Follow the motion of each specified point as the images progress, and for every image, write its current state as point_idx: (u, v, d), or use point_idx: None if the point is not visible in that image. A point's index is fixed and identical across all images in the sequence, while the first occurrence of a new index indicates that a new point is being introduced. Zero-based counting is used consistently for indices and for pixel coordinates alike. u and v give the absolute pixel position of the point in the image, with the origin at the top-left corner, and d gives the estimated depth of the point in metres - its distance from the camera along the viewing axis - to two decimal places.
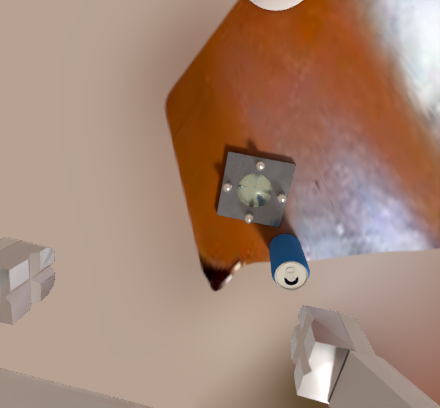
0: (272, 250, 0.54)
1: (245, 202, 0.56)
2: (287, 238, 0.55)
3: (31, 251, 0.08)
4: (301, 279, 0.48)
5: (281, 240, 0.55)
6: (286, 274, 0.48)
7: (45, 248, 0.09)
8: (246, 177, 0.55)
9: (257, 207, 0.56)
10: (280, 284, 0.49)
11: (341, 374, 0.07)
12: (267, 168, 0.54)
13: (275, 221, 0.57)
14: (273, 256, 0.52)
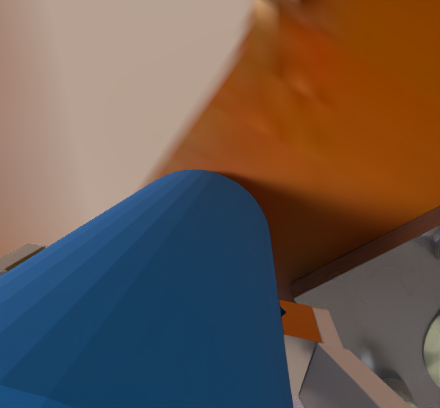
0: (274, 280, 0.08)
1: None
2: None
3: None
4: None
5: None
6: None
7: None
8: None
9: None
10: None
11: (310, 366, 0.07)
12: None
13: (326, 305, 0.12)
14: (285, 360, 0.05)
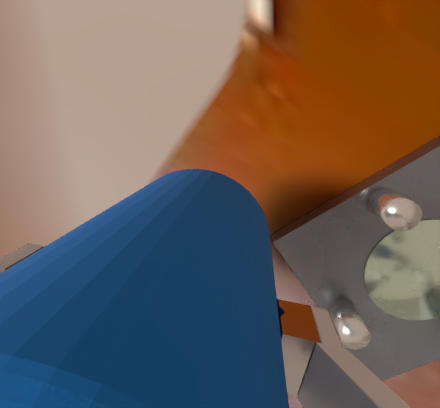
0: (271, 274, 0.08)
1: (425, 226, 0.16)
2: None
3: None
4: None
5: None
6: None
7: None
8: None
9: (378, 241, 0.17)
10: None
11: (308, 366, 0.07)
12: (434, 337, 0.18)
13: (296, 247, 0.17)
14: (279, 349, 0.05)
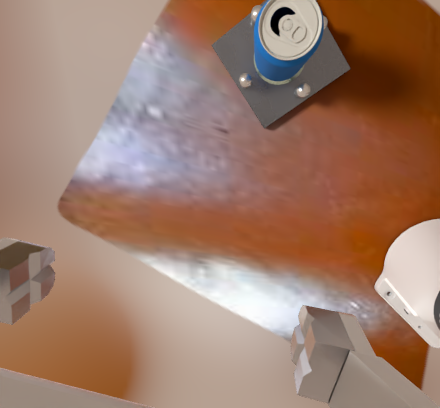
0: None
1: None
2: None
3: (31, 251, 0.08)
4: (270, 38, 0.26)
5: None
6: (296, 21, 0.25)
7: (45, 248, 0.09)
8: None
9: None
10: None
11: (341, 374, 0.07)
12: (289, 95, 0.38)
13: (222, 46, 0.37)
14: None
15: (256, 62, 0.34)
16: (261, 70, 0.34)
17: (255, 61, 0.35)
